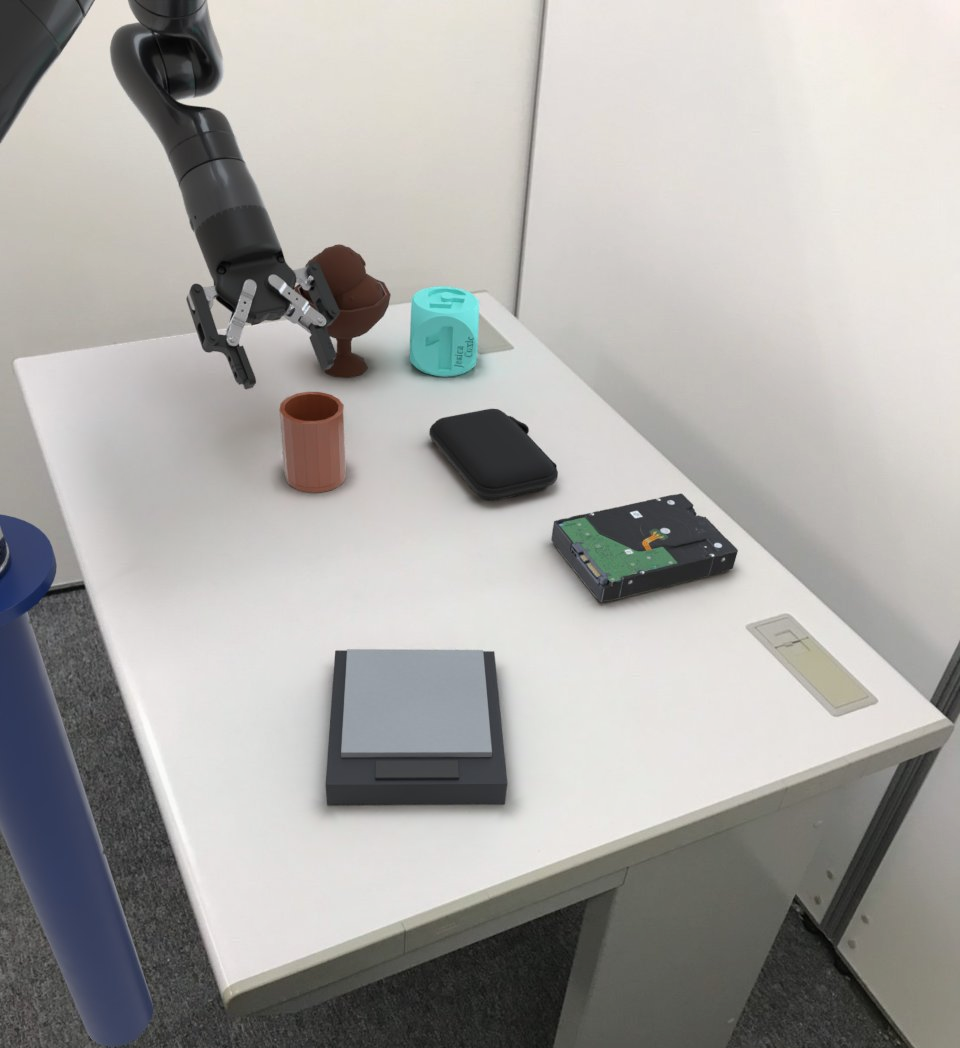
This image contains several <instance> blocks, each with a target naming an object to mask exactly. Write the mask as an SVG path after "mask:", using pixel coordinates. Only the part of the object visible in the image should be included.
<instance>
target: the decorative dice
mask: <svg viewBox="0 0 960 1048" xmlns="http://www.w3.org/2000/svg"><path fill="white" fill-rule="evenodd" d="M410 303H411V304H410V327H409V329H410V330H409V362H410V364H411V365H412V366H413V367H415V369H417V370H418V371H420V372H421V373H424V374H427V375H431V376H434V377H442V378H443V377H446V378H447V377H456V376H461V375H464V374H467V373H468V372H469V371H471V370H472V369H474V367H476V365H477V360H478V359H477V358H478V346H479V326H480V325H479V324H480V300H479V299H478V298H477V297H476V296H475V294H473V293H472V292H470V291H468V290H466V289H463V288H459V287H453V286H444V285H443V286H442V285H439V286H430V287H425V288H422V289H420V290H418V291H417V292H416V293H414V294H413V295H412V296H411V302H410Z"/></svg>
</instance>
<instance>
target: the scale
mask: <svg viewBox="0 0 960 1048" xmlns="http://www.w3.org/2000/svg"><path fill="white" fill-rule="evenodd" d="M496 663H497V662H496V654H495V650H494V651H489V650H487V651H486V650H483V649H393V648H392V649H390V648H389V649H387V648H385V649H381V648H380V649H378V648H377V649H376V648H370V649H368V648H365V649H364V648H348V649H345V650H341V649H339V650H337V649H336V650H335V651H334V662H333V674H332V675H333V676H332V688H331V703H330V715H329V716H330V717H329V718H330V719H329V730H328V732H329V733H328V745H327V757H326V758H327V759H326V760H327V761H326V771H325V796H326V806H329V807H330V806H334V807H335V806H449V805H450V806H452V805H453V806H457V805H460V806H461V805H465V806H466V805H469V806H470V805H474V806H475V805H478V806H479V805H506V799H507V791H508V774H507V765H506V764H507V763H506V754H505V753H506V752H505V744H504V733H503V724H502V716H501V715H502V713H501V703H500V695H499V694H500V693H499V684H498V675H497V674H498V672H497V664H496Z"/></svg>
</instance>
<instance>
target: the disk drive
mask: <svg viewBox="0 0 960 1048" xmlns="http://www.w3.org/2000/svg"><path fill="white" fill-rule="evenodd" d="M551 542H552V543H553V544H554V546H555V547H556V549H557V551H558V552H559V553H560V555H561V556H562V557H563V558H564V560H565V561H566V562H567V564H568V565H569V566H570V567H571V568H572V570H573V571H574V572H575V573H576V575H577V576H578V577H579V578H580V580H581V581H582V582H583V584H584V585H585V586H586V587H587V588H588V590H589V592H591V593H592V595H593V596H594V597H595V598H596V599H597V600H598V602H600V603H603V602H611V601H616V600H619V599H623V598H627V597H631V596H636V595H640V594H643V593H647V592H652V591H655V590H659V589H663V588H665V587H666V588H667V587H670V586H674V585H678V584H682V583H686V582H690V581H694V580H700V579H702V578H707V577H710V576H713V575H717V574H722V573H723V572H727V571H730V570H731V571H732V570H733V569H734V565H735V563H736V559H737V555H738V553H739V550H738V548H737V547H736V546H735V545H734V544H733V543H732V542H731V541H730V540H729V539H728V538H726V536H725V535H723V533H722V532H721V531H720V530H718V528H717V527H716V526H715V525H714V524H713V523H712V522H711V521H710V520H709V519H708V518H707V517H706V516H701V515H698V514H697V511H696V510H695V508H694V504H693V503H692V502H691V501H690V500H689V499H688V498H687V496H686V495H684V494H683V493H677V494H669V495H665V496H661V497H658V498H652V499H647V500H644V501H638V502H634V503H630V504H625V505H621V506H616V507H610V508H605V509H602V510H597V511H593V512H588V513H584V514H577V515H573V516H570V517H565V518H561V519H560V518H559V519H556V520H554V521H553V525H552V532H551Z"/></svg>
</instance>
